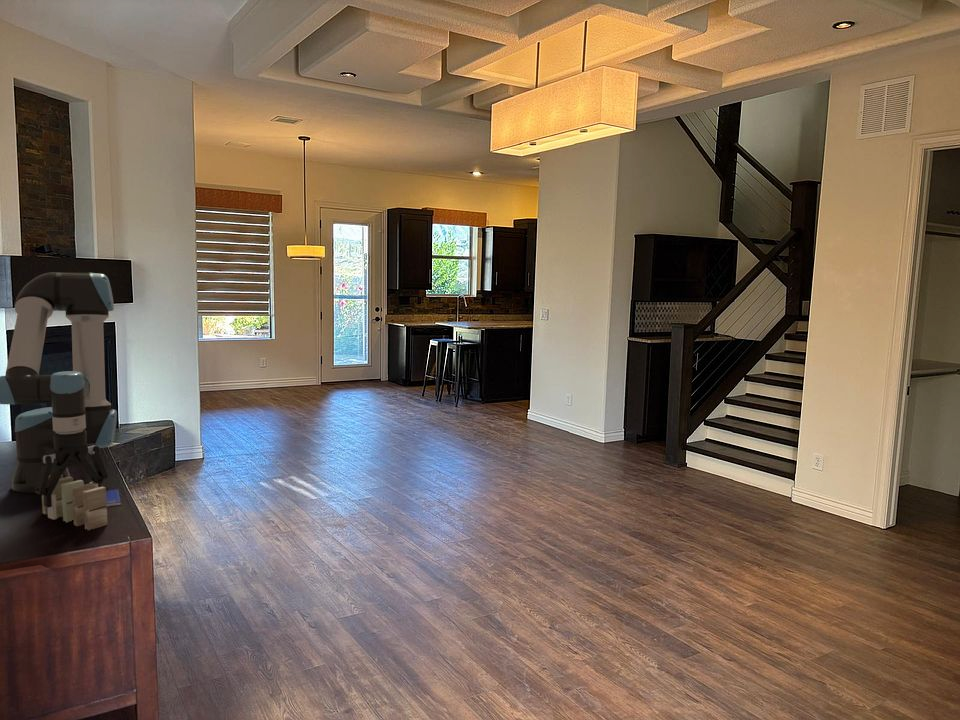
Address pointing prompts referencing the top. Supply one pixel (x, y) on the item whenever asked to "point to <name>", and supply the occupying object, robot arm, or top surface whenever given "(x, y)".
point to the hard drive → (112, 498)
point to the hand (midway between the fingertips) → (74, 512)
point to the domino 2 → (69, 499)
